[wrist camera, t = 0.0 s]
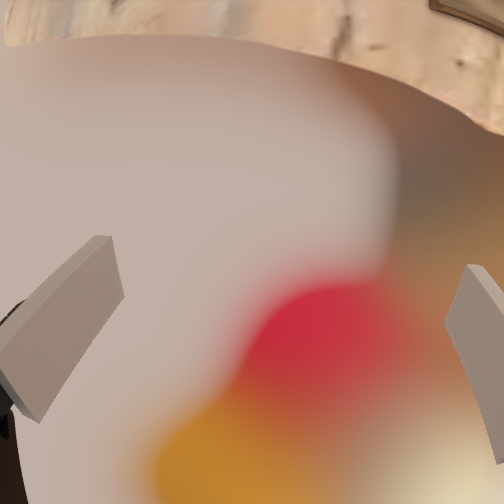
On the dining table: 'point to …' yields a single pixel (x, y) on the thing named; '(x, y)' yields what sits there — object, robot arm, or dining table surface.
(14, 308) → the robot arm
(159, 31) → the dining table surface
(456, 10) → the walnut tray
